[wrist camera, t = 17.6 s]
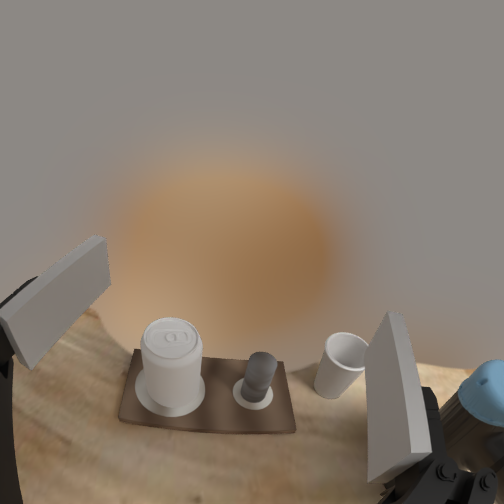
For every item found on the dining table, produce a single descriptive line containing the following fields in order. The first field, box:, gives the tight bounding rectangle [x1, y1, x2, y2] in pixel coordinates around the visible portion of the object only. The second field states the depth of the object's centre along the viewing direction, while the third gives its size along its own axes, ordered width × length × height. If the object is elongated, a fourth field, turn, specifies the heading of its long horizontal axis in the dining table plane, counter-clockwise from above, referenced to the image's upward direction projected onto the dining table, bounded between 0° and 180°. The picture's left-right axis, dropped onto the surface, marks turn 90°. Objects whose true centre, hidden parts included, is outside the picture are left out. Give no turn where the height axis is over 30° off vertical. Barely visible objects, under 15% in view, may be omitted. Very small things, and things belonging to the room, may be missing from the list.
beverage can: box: [141, 317, 203, 408], centre depth 38 cm, size 8×8×12 cm
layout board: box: [118, 349, 296, 434], centre depth 40 cm, size 26×14×9 cm, turn 94°
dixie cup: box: [314, 332, 369, 399], centre depth 45 cm, size 8×8×10 cm
